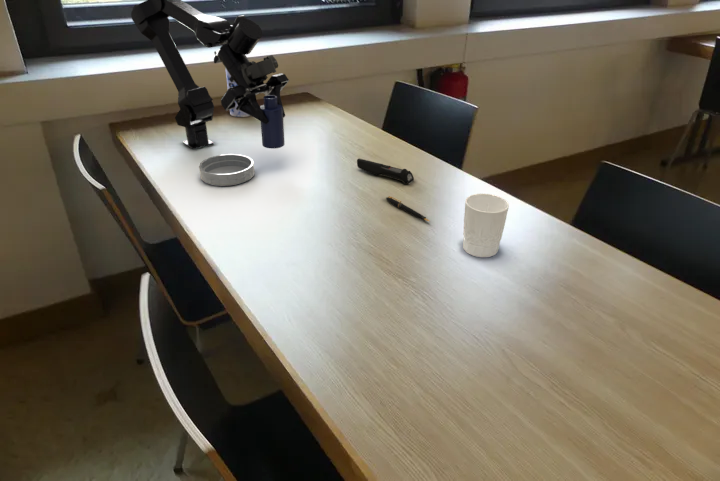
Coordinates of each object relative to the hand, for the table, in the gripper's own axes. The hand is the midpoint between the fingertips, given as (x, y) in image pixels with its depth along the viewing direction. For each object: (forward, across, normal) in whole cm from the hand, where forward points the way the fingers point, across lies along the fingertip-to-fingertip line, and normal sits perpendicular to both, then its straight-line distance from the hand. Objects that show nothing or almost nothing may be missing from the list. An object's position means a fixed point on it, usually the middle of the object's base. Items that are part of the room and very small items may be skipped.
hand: (275, 120), depth 129 cm
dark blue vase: (+4, 0, +6) cm, 7 cm away
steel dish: (+4, -10, +14) cm, 18 cm away
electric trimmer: (+26, +12, -8) cm, 30 cm away
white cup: (+50, -6, -32) cm, 59 cm away
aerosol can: (-20, +28, +39) cm, 51 cm away
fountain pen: (+36, -1, -18) cm, 40 cm away
